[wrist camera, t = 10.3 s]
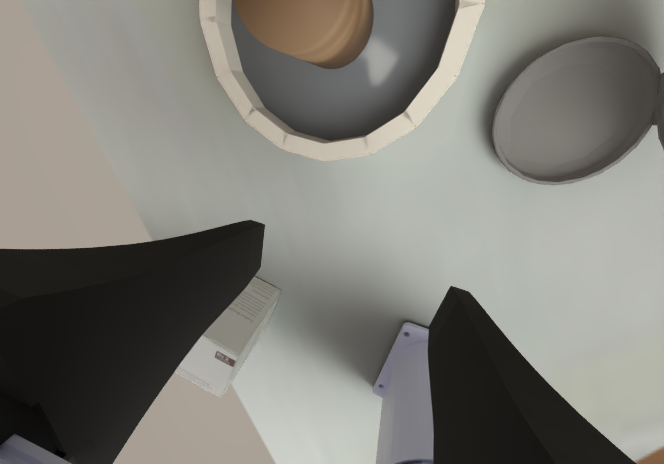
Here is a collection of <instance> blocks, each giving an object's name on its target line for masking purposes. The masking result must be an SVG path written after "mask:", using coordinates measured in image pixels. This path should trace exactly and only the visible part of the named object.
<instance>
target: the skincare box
mask: <svg viewBox="0 0 664 464" xmlns="http://www.w3.org/2000/svg"><path fill="white" fill-rule="evenodd" d="M280 294H281V290H279V289H278V288H276V287H274V286H272V285H270V284H268V283H266V282H264V281H262V280H260V279H258V278H256V277H253V279H252V280H251V282H250V283H249V284H248V286H247V287H246V288H245V289H244V290H243V291H242V292H241V294H240V295H239V296H238V297H237V298H236V299H235V300H234V301H233V302H232V303H231V304H230V305H229V307H228V308H227V309H226V310H225V311H224V312H223V313H222V314H221V315H220V316H219V317H218V318H217V319H216V320H215V322H214V323H213V324H212V325H211V326H210V327H209V328H208V329H207V330H206V331H205V333H204V334H203V335H202V336H201V337H200V338H199V340H198V341H197V342H196V344H195V345H194V346H193V348H192V349H191V350H190V351H189V353H188V354H187V355H186V357H185V358H184V359H183V361H182V362H181V363H180V365H179V366H178V368H177V369H176V370H175V373H177V374H179V375H181V376H182V377H184V378H186V379H188V380H189V381H191V382H193V383H194V384H196V385H198V386H200V387H202V388H203V389H205V390H207V391H208V392H210V393H212V394H213V395H215V396H217V397H219V398H221V397H222V396H223V395H224V393H225V391H226V390H227V389H228V387H229V385H230V384H231V382H232V381H233V379H234V378H235V376H236V375H237V373H238V371H239V370H240V368H241V367H242V365H243V364H244V362H245V360H246V359H247V357H248V356H249V354H250V353H251V351H252V349H253V348H254V346H255V345H256V343H257V342H258V340H259V339H260V337H261V336H262V334H263V332H264V331H265V328H266V326H267V324H268V322H269V319H270V317H271V315H272V312H273V310H274V308H275V305H276V303H277V301H278V298H279V296H280Z"/></svg>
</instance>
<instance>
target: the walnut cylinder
mask: <svg viewBox="0 0 664 464" xmlns="http://www.w3.org/2000/svg"><path fill="white" fill-rule="evenodd" d="M233 1H234V4H235V7H236V9H237V12H238V14H239V16H240V18H241V20H242V22H243V23H244V25H245V26H246V28H247V29H248V30H249V31H250V33H251V34H252V35H253V36H254V37H255V38H256V39H257V40H258V41H260V42H261V43H263V44H264V45H266V46H268V47H270V48H272V49H275V50H277V51H280V52H282V53H285V54H287V55H290V56H293V57H295V58H298V59H300V60H303V61H305V62H308V63H311V64H313V65H316V66H318V67H321V68H324V69H338V68H342V67H344V66H346V65H348V64H350V63H351V62H353V61H354V60H355V59H356V58H357V57H358V56H359V55H360V54H361V53H362V51H363V50H364V48H365V46H366V45H367V43H368V40H369V38H370V35H371V32H372V27H373V19H374V9H373V2H372V0H233Z"/></svg>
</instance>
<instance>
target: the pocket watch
mask: <svg viewBox="0 0 664 464" xmlns="http://www.w3.org/2000/svg"><path fill="white" fill-rule="evenodd" d="M652 125H657V127H658V136H659V140H660V142H661V145H662V147H663V149H664V73H661V74H660V70H659V67H658V66H657V64H656V63H655V61H654V60H653V58H652V57H651V55H650V54H649V53H648V51H646V50H645V49H643V48H642V47H640V46H639V45H637V44H635V43H633V42H630V41H628V40H625V39H622V38H614V37H606V36H598V37H591V38H584V39H578V40H575V41H571V42H568V43H565V44H563V45H562V46H560V47H558V48H556V49H554V50H551V51H549V52H548V53H546V54H544V55H542V56H541V57H539V58H537V59H535V60H534V61H533V62H532V63H531V64H529V65H528V66H527V67H526V68H525V69H524V70H523V71H522V72H521V73H520V74H519V75H518V76H517V77H516V78H515V79H514V80H513V81H512V82H511V83H510V84H509V86H508V88H507V90H506V91H505V93H504V95H503V96H502V98H501V100H500V102H499V104H498V107H497V109H496V111H495V115H494V120H493V125H492V138H493V143H494V148H495V151H496V155H497V156H498V158H499V159H500V160H501V162H502V163H503V164H504V165H505V166H506V168H507V169H508V170H509V171H510V172H512V173H513V174H515V175H517V176H518V177H520V178H522V179H524V180H526V181H529V182H533V183H537V184H544V185H560V184H570V183H574V182H578V181H581V180H585V179H588V178H591V177H593V176H596V175H598V174H601V173H602V172H604V171H606V170H607V169H609V168H611V167H612V166H614V165H615V164H617V163H619V162H620V161H621V160H622V159H623V158H625V157H626V156H627V155H628V154H629V153H630V152H631V151H632V150H634V149H635V148H636V147H637V146H638V144H639V143H640V142H641V140H642V139H643V138H644V136H645V135H646V134H647V132H648V131H649V129H650V128H651V126H652Z"/></svg>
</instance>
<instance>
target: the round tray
mask: <svg viewBox="0 0 664 464" xmlns="http://www.w3.org/2000/svg"><path fill="white" fill-rule="evenodd" d="M372 2H373V9H374V19H373V27H372V32H371V35H370V38H369V40H368V43H367V45H366V46H365V48H364V50H363V51H362V53H361V54H360V55H359V56H358V57H357V58H356V59H355V60H354V61H353V62H351V63H350V64H348V65H346V66H344V67H342V68H338V69H324V68H321V67H318V66H316V65H313V64H311V63H308V62H305V61H303V60H300V59H298V58H295V57H293V56H290V55H287V54H285V53H282V52H280V51H277V50H275V49H272V48H270V47H268V46H266V45H264V44H263V43H261V42H260V41H258V40H257V39H256V38H255V37H254V36H253V35H252V34H251V33H250V31H249V30H248V29H247V28H246V26H245V25H244V23H243V22H242V20H241V18H240V16H239V14H238V12H237V9H236V7H235V4H234V1H233V0H199V19H201V21H200V23H201V27H202V30H203V33H204V37H205V40H206V44H207V47H208V50H209V54H210V57H211V61H212V64H213V67H214V71H215V74H216V77H217V79H218V81H219V82H220V84H221V85H222V87H223V88H224V90H225V91H226V93H227V94H228V96H229V97H230V99H231V101H232V102H233V104H234V105H235V107H236V108H237V110H238V111H239V113H240V114H241V116H242V117H243V119H244V120H246V121H245V122H247V123H248V124H249V125H251V126H252V127H253V128H254V129H256V130H257V131H258V132H260V133H261V134H262V135H263V136H265V137H266V138H267V139H269V140H270V141H271V142H272V143H274V144H275V145H276V146H278V147H279V148H280V149H282V150H285V151H289V152H292V153H296V154H299V155H303V156H306V157H310V158H313V159H317V160H320V161H331V160H338V159H346V158H353V157H360V156H367V155H370V154H373V153H375V152H376V151H378V150H380V149H381V148H383V147H385V146H386V145H388V144H390V143H391V142H393V141H395V140H397V139H398V138H400V137H402V136H403V135H405V134H407V133H408V132H410V131H412V130H413V129H415V128H416V127H417V126H418V125H419V124H420V123H421V121H422V120H423V119H424V118H425V117H426V115H427V114H428V113H429V112H430V110H431V109H432V108H433V107H434V105H435V104H436V103H437V102H438V101H439V99H440V98H441V97H442V96H443V94H444V93H445V92H446V91H447V89H448V88H449V87H450V86H451V85H452V83H453V82H454V81H455V80H456V78H457V76H458V75H459V72H460V69H461V67H462V64H463V61H464V59H465V56H466V53H467V51H468V48H469V45H470V43H471V40H472V37H473V35H474V32H475V29H476V27H477V24H478V21H479V19H480V16H481V13H482V11H483V8H484V5H485V4H484V3H485V0H372Z"/></svg>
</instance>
